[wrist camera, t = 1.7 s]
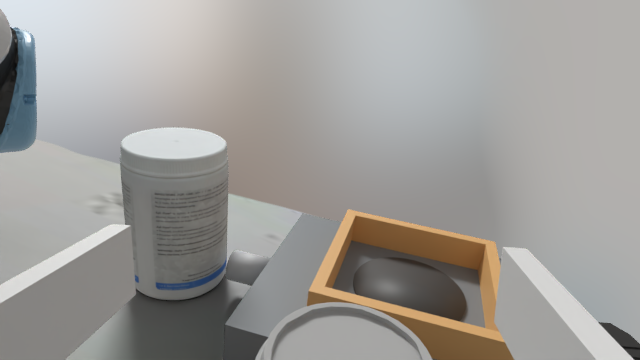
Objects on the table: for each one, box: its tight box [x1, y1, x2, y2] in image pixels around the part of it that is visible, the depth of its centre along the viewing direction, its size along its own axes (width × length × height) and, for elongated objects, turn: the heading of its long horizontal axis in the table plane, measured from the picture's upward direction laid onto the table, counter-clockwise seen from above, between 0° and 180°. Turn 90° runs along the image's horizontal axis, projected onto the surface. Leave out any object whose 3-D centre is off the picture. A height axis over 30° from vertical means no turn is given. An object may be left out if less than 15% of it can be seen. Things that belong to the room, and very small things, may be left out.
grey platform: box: [223, 210, 514, 360], centre depth 40 cm, size 30×20×8 cm, turn 75°
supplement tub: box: [120, 128, 228, 300], centre depth 43 cm, size 10×10×15 cm
